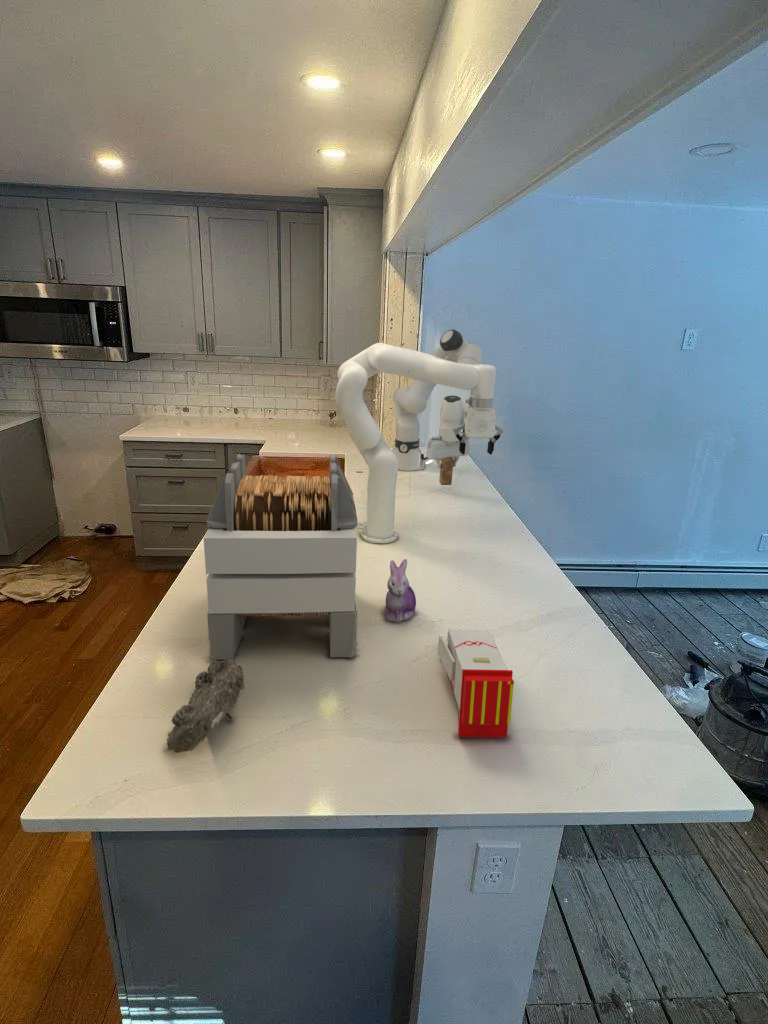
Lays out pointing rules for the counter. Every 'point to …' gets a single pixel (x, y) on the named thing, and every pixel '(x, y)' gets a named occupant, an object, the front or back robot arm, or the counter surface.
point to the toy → (478, 682)
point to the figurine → (399, 594)
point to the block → (446, 471)
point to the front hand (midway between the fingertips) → (476, 453)
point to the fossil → (206, 705)
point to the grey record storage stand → (281, 554)
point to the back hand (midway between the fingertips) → (446, 467)
